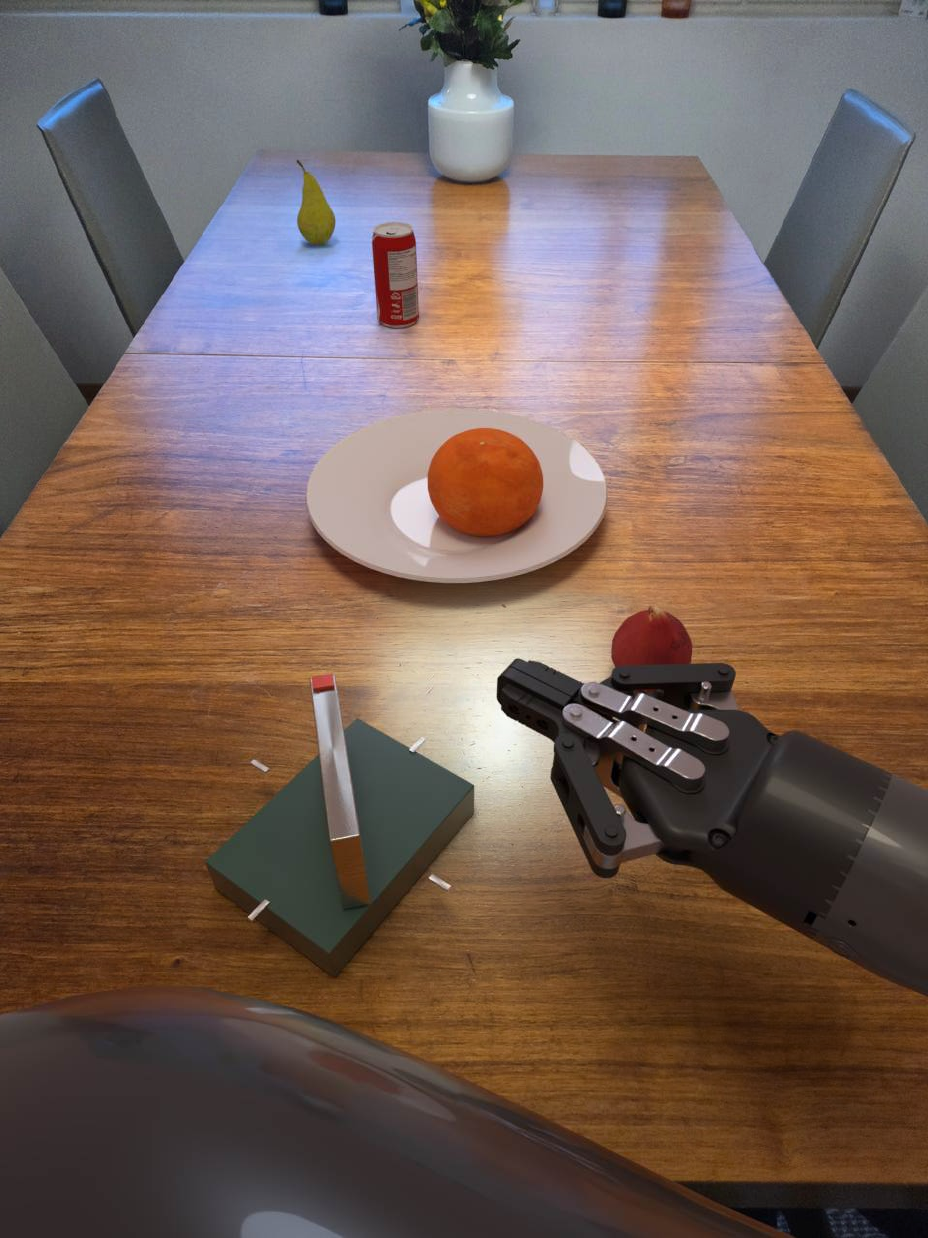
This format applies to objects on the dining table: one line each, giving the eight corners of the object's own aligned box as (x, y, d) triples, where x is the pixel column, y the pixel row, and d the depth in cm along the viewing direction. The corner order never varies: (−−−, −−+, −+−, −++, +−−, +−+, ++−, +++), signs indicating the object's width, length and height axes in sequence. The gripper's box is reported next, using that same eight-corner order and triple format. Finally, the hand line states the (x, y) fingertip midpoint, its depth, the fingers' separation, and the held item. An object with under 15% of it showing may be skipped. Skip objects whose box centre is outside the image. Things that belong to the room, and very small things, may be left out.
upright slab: (370, 905, 50) (360, 832, 45) (343, 910, 50) (329, 838, 45) (345, 745, 59) (334, 670, 54) (322, 749, 59) (308, 674, 54)
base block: (363, 1027, 48) (358, 1001, 46) (167, 875, 55) (155, 847, 53) (522, 823, 58) (524, 794, 56) (338, 716, 65) (334, 687, 63)
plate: (247, 530, 82) (230, 451, 76) (434, 410, 98) (431, 337, 92) (489, 658, 69) (490, 574, 63) (657, 496, 86) (670, 418, 80)
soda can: (388, 309, 119) (382, 216, 111) (425, 315, 117) (422, 221, 109) (370, 325, 115) (363, 230, 107) (408, 331, 113) (404, 236, 105)
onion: (668, 655, 69) (685, 577, 64) (694, 708, 65) (715, 630, 60) (597, 664, 69) (608, 586, 63) (619, 719, 64) (633, 640, 59)
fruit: (340, 248, 136) (332, 164, 128) (303, 252, 135) (292, 167, 126) (334, 235, 140) (325, 153, 132) (297, 239, 139) (286, 156, 131)
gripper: (934, 699, 37) (579, 551, 44) (833, 939, 29) (420, 710, 36) (877, 805, 42) (566, 656, 50) (777, 1033, 34) (424, 816, 42)
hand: (504, 680), depth 43 cm, fingers closed
